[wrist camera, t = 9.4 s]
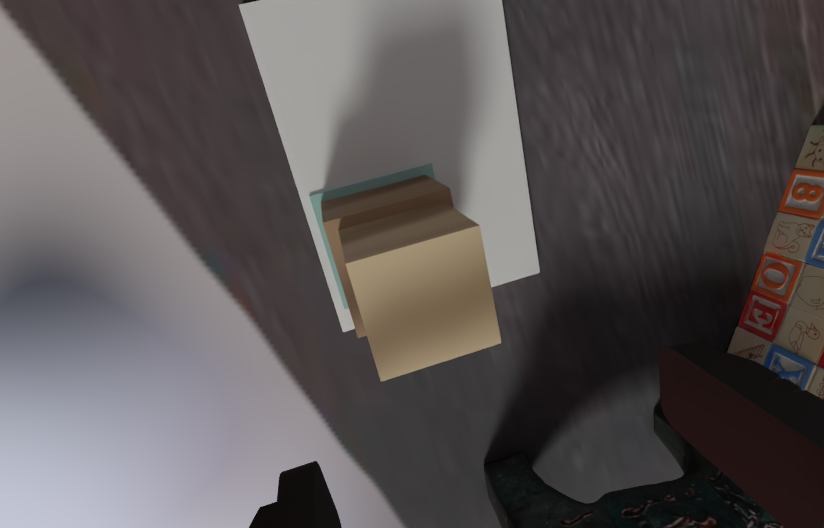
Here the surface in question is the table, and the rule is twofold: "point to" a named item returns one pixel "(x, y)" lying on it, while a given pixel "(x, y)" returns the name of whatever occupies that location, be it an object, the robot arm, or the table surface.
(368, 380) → the table surface
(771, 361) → the stack of blocks
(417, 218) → the oak cube
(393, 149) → the build board
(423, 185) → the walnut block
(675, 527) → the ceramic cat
